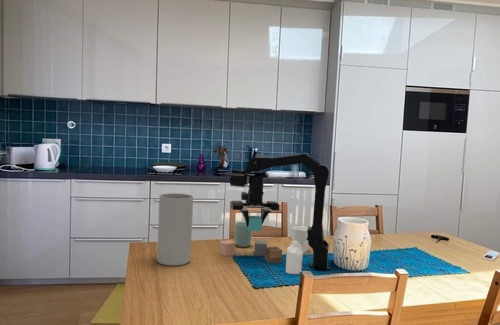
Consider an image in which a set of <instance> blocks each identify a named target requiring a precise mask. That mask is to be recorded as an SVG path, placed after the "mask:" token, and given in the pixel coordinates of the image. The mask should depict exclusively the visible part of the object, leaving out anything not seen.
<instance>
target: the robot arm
mask: <svg viewBox="0 0 500 325" xmlns="http://www.w3.org/2000/svg"><path fill="white" fill-rule="evenodd" d="M299 164H302V165H303V166H305V167H306V168H307V169H308V170H309V171H311V172H312V173H313V181H314V187H315V190H314V191H315V192H314V203H313V215H312V216H313V217H312V225H311V226H308V230H307V233H308V237H307V239H306V240H308V247H310V248H311V249H312V261H311V262H310V263H308V266H310V267H311V268H312V269H313V270H315V271H325V270H327V271H331V267H329V266H328V259H329V247H330V244H329V243H328V242H327V241H326V240H325V233H324V225H323V223H324V222H323V221H324V210H325V209H324V208H325V198H326V197H325V196H326V195H325V194H326V187H327V183H328V180H329V177H330V176H329V175H330V173H331V170H330V167H329V166H328V165H327V164H324V163H320V162H318V161H317V160H315V159H314V158H313V157H311V155H309V154H308V153H307V152H302V153H299V154H290V155H281V156H273V157H272V156H254V157H251V158H250V159H249V162H248V166H247V167H246V168H245V169H244V170H243V169H235V168H233V169H232V170H231V174H230V177H229V185H230V186H231V187H237V188H239V187H241V188H245V187H246V186H248V191H241V195H240V200H232V201H231V202H230V208H231V209H232V210H233V211H239V212H240V213H242V214H243V219H244V222H246V226H247V227H248V224H249V216H250V214H249V210H248V208H249V209H260V217H261V218H262V225H263V224H264V222H265V220H266V218H267V216H268V215H269V214H271V213H272V211H277V212H278V211H280V204H279V203H278V202H276V201H271V200H270V201H269V200H267V201H266V203H265V202H263V198H264V182H265V179H268V178H270V175H269V174H268V173H267V172H266V171H265V170H266V169H267V170H268V169H271V168H274V167H281V166H289V165H290V166H292V165H299ZM260 171H263V172H260ZM254 172H255V173H254ZM252 173H254V174H252ZM243 201H245V202H243Z"/></svg>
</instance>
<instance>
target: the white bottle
mask: <svg viewBox="0 0 500 325" xmlns="http://www.w3.org/2000/svg"><path fill="white" fill-rule="evenodd" d="M303 257H304V253H303V249H302V247H301V245H300V243H299V242H297V241H293V242H292V241H291V244H290V245H289V246H288V247H287V249H286V261H285V273H286V274H289V275H299V274H301V273H302V268H303V266H302V265H303ZM300 272H301V273H300Z"/></svg>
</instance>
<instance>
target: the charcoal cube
mask: <svg viewBox="0 0 500 325" xmlns="http://www.w3.org/2000/svg"><path fill="white" fill-rule="evenodd" d="M266 247H268V241H265V240H254V252H253V256H254V257H255V256H257V257H258V256H259V257H265V249H266Z"/></svg>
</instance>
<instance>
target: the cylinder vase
mask: <svg viewBox="0 0 500 325" xmlns="http://www.w3.org/2000/svg"><path fill="white" fill-rule="evenodd" d="M158 196H159V199H158V223H157V224H158V227H157V246H156V247H157V249H156V253H157V254H156V261H157V262H158V263H159V264H161V265H164V266H170V267H171V266H173V267H175V266H176V267H177V266H178V267H179V266H183V265H186V264H188V263H189V262H190V261H191V254H192V253H191V252H192V251H191V250H192V231H193V230H192V229H193V211H194V209H193V208H194V206H193V205H194V196H193V195H192V194H187V193H175V192H174V193H171V192H170V193H163V194H160V195H158Z"/></svg>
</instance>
